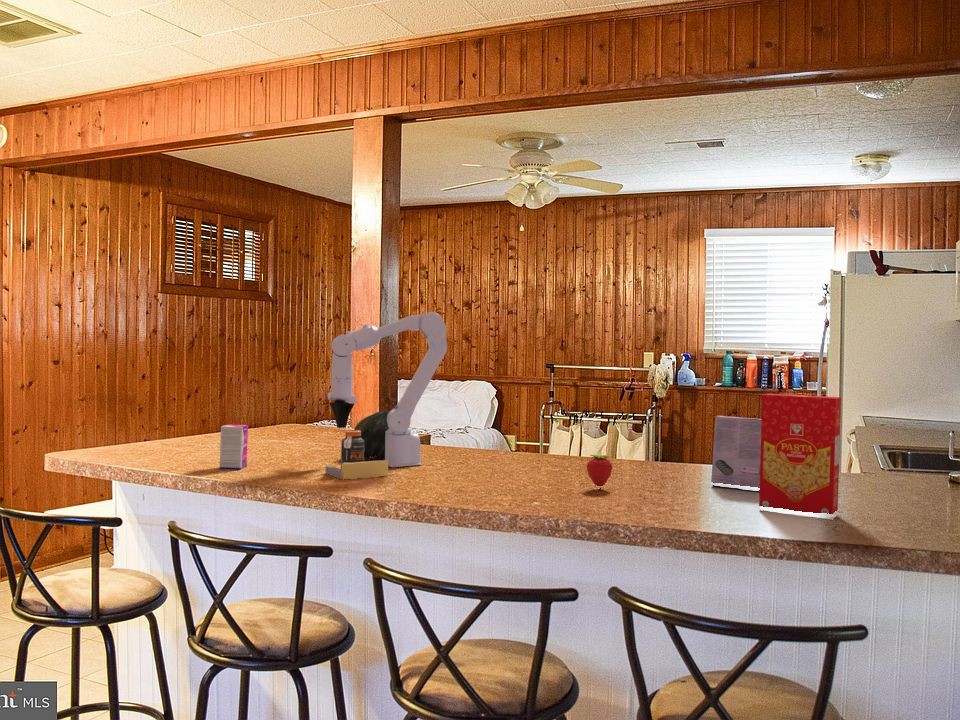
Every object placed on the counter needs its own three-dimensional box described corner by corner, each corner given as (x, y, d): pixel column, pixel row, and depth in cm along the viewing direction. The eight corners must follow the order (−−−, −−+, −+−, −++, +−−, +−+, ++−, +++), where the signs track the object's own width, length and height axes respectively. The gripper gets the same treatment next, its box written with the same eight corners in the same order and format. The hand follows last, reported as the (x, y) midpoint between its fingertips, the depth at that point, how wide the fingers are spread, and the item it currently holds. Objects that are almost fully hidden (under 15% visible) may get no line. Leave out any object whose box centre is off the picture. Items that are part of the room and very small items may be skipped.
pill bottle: (351, 476, 207) (352, 432, 206) (336, 473, 210) (336, 430, 210) (368, 473, 211) (369, 430, 211) (353, 470, 215) (353, 428, 215)
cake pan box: (795, 493, 195) (798, 419, 195) (792, 496, 191) (794, 421, 190) (715, 484, 205) (717, 414, 204) (710, 487, 200) (712, 416, 200)
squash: (344, 436, 244) (355, 402, 235) (391, 436, 250) (404, 403, 241) (352, 473, 234) (364, 439, 225) (401, 472, 241) (415, 439, 232)
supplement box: (241, 470, 213) (241, 426, 213) (218, 469, 213) (219, 426, 213) (248, 466, 219) (248, 424, 219) (226, 466, 219) (226, 423, 219)
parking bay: (368, 469, 217) (368, 454, 217) (387, 476, 208) (388, 460, 208) (325, 473, 210) (325, 458, 210) (343, 480, 201) (343, 464, 201)
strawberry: (581, 490, 193) (582, 448, 193) (593, 485, 200) (594, 445, 199) (605, 493, 190) (606, 450, 190) (616, 488, 197) (617, 447, 196)
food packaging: (758, 510, 174) (762, 394, 173) (765, 506, 178) (768, 393, 177) (832, 520, 165) (836, 398, 165) (837, 516, 170) (841, 397, 169)
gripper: (318, 377, 227) (317, 425, 227) (339, 380, 215) (339, 431, 215) (341, 377, 231) (340, 424, 231) (363, 379, 219) (363, 429, 219)
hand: (341, 427), depth 224 cm, fingers closed
